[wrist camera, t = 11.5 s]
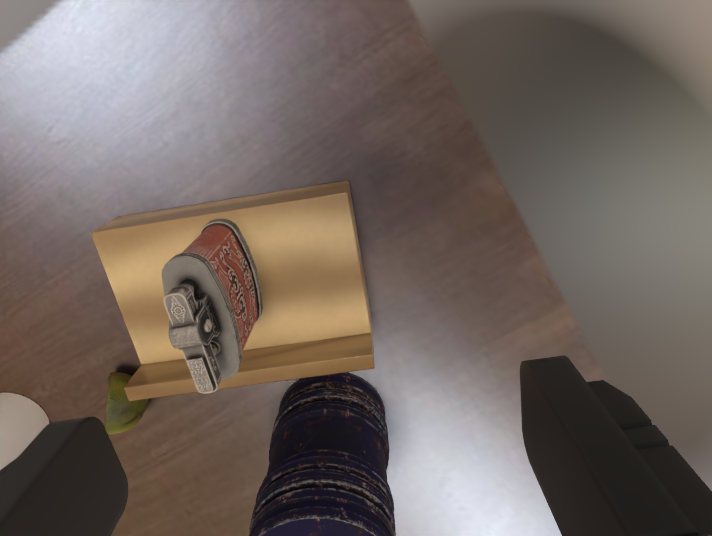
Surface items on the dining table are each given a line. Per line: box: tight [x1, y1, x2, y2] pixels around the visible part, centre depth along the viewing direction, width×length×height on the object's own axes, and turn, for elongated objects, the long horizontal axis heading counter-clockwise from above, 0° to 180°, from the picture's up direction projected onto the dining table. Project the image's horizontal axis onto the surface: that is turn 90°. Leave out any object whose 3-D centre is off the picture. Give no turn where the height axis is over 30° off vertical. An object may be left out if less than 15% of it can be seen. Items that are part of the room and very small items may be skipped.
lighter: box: [162, 218, 263, 394], centre depth 29 cm, size 8×3×10 cm, turn 11°
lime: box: [105, 372, 147, 434], centre depth 40 cm, size 4×5×5 cm
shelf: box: [91, 180, 374, 401], centre depth 35 cm, size 12×18×7 cm, turn 99°
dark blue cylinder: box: [249, 372, 396, 536], centre depth 37 cm, size 10×10×15 cm
